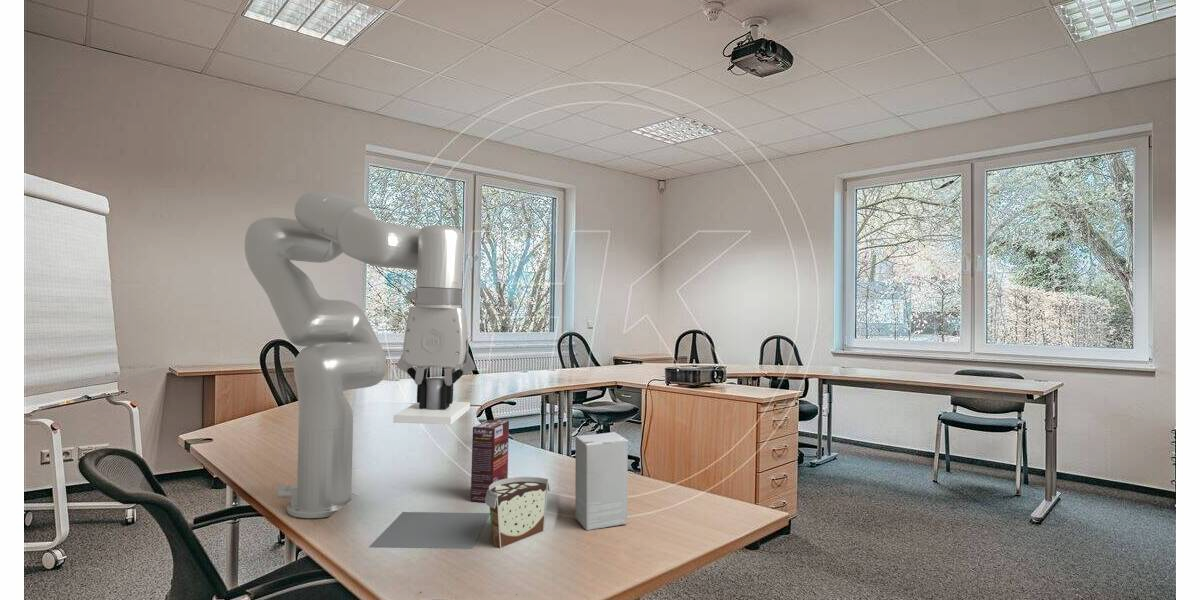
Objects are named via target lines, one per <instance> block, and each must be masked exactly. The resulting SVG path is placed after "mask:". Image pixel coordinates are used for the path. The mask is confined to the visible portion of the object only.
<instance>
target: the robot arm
mask: <svg viewBox="0 0 1200 600" xmlns="http://www.w3.org/2000/svg"><path fill="white" fill-rule="evenodd" d="M294 216H295V218H296V219H292V218H287V217H274V216H272V217H271V216H270V217H263V218H260V219H256V220H255V221H253V222H252V223H251V224H250V225H249V226H248V228H247V230H246V233H245V236H244V255H245V258H246V259H245V260H246V263H247V265H248V268H249V269H250V271H251V273H252V275H253V276H254V278H255V279H256V280H257V282H258V284H259V285H260V286H261V287H262V289H263V291H264V292H265V294H266V296H267V298H268V299H269V302H270V305H271V306H272V309H273V311H274V313H275V315H276V317H277V320H278V321H279V324H280V327H281V329H282V330H283V332H284V334H285V336H286V337H287V339H288V341H289V342H290V343H292V344H293V345H295V346H299V347H305V348H302V350H301V351H299V353H298V354H297V355H296V357H295V358H294V362H293V373H294V374H293V375H294V381H295V386H296V392H297V400H298V436H297V437H298V438H297V439H298V440H297V446H298V447H297V475H296V476H297V478H296V479H297V480H296V481H297V482H296V484H295V485H290V484H281V485H280V484H279V486H278V488H277V490H276V491H277V498H278V499H285V498H286V499H290V503H288V505H287V510H286V511H287V512H286V513H287V514H288V515H290V516H291V517H295V518H300V519H320V518H330V517H331V516H333V515H334V514H335V513H337V512H338V511H339V510H341V509H342V508H343V507H344V506H346V505H347V504H348V503H350V502H351V501H352V500H354V499H355V498H356V497H358V495H357V494H355V493H354V492H352V489H353V487H352V486H353V484H352V483H353V476H352V475H353V446H354V445H353V443H354V442H353V440H354V414H353V409H352V406H351V405H350V403H349V401H348V399H347V397H346V396H345V394H344V391H345V392H346V391H349V390H356V389H357V390H358V389H364V388H365V389H366V388H370V387H373V386H376V385H378V384H379V383H380V382H382V380H384V378H385V376H386V373H387V370H388V369H387V366H388V361H387V357H386V354H385V351H384V349H383V347H382V345H381V343H380V341H379V338H378V337H377V335H376V333H375V331H374V329H373V327H372V326H371V324H370V321H369V319H368V317H367V315H366V314H365V312H364V310H362V308H360V307H359V306H358V305H357V304H356V303H355V302H351V301H349V300H343V299H328V298H327V299H326V298H323V297H321V296H320V294H319V293H318V292H317V289H316V288H315V285H314V283H313V281H312V280H311V279H310V277H309V276H308V275H307V274H306V272H304V271H303V270H302V269H301V268H299V267H298V266H297V265H295V264H294V263H293V262H292V261H294V262H295V261H296V262H307V263H314V264H315V263H323V264H324V263H329V262H331V261H333V260H335V259H336V258H338V257H339V256H340V255H342V254H344V255H346V256H349V257H351V258H352V259H355V260H357V261H359V262H362V263H364V264H367V265H370V266H373V267H378V268H390V269H402V270H409V271H416V280H415V281H416V282H415V288H414V290H412V291H408V292H407V295H406V296H407V297H406V298H407V300H412V301H414V304H415V306H410V307H409V310H408V315H407V318H406V319H407V320H406V326H405V331H404V337H403V345H402V347H403V349H402V355H401V357H400V358H399V359H398V361H397V363H396V368H398V369H399V370H401V371H403V372H404V373H407V375H408V376H409V377H410V378H412V380H413V381H414V383H415V384H416V388H417V389H416V403H419V408H420V409H423V408H425V405H426V379H427V378H428V372H429V368H443V371H444V378H445V382H444V385H443V386H442V392H441V409H447V408H448V407H449V406H450V404H452V402H454V401H453V400H454V384H455V383H457V381H458V380H460V378H461V377H462V376H464V375H466V374H468V373H470V372H472V371H474V370H475V369H476V364H475V363H474V360H473V359H472V357H471V354H470V353H469V332H468V319H467V313H466V309H465V308H464V307H463V308H462V298H463V297H462V294H463V290H462V289H463V287H462V286H463V270H464V267H463V265H464V242H465V240H464V238H465V237H464V233H463V232H462V230H461V229H460V228H457V227H454V226H448V225H435V224H434V225H425V226H423V227H421V228H418V227H412V226H408V225H403V224H397V223H396V224H395V223H390V222H384V221H380V220H377V218H376V215H375V214H374V212H373V211H372V210H371V209H370V207H369V205H368V204H367V203H366V202H365V201H363V200H362V199H359V198H357V197H353V196H350V195H349V196H348V195H343V194H339V193H334V192H333V193H332V192H329V191H322V190H313V191H308V192H306V193H304V194H302V195H301V196H300V197H298V199H297V200H296V202H295V204H294ZM461 365H463V367H461V368H458V369H456V368H457V367H460V366H461Z"/></svg>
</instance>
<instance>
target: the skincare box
mask: <svg viewBox="0 0 1200 600" xmlns="http://www.w3.org/2000/svg"><path fill="white" fill-rule="evenodd" d="M628 448H629V440H628V439H626V438H625V437H623V436H622V435H621V434H619V433H618V432H616V431H612V432H603V433H595V434H586V435H585V434H584V435H582V434H581V435H575V480H574V481H575V493H574V495H575V517H574V518H575V520H577V522H578V523H579V524H580V525H581V526H582V528H584V530H585V531H592V530H598V529H599V530H600V529H603V528H609V527H616V526H622V525H628V470H629V469H628V468H629V467H628V461H629V460H628V459H629V458H628V450H629V449H628Z"/></svg>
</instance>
